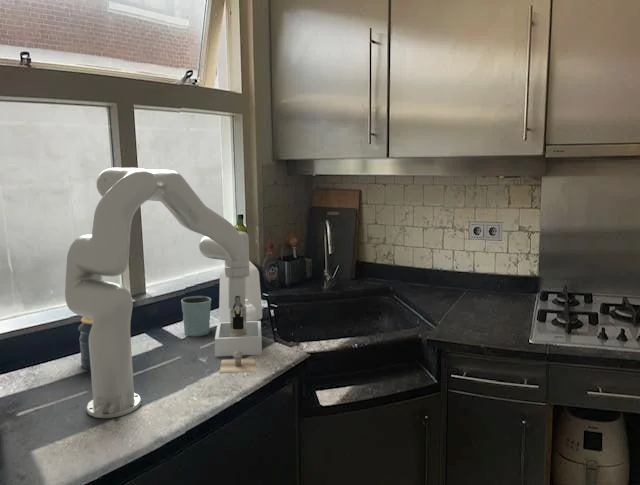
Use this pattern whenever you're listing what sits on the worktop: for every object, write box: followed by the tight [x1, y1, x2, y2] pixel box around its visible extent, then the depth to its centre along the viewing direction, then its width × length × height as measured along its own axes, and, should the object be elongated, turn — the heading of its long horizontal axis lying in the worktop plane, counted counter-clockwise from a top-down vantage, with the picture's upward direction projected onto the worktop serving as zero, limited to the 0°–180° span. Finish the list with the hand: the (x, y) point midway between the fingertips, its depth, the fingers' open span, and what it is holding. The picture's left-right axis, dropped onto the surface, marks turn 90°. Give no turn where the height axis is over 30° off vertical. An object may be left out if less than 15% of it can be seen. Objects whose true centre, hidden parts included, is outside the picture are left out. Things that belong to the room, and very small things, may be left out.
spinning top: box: [245, 299, 257, 321], centre depth 187 cm, size 8×8×12 cm
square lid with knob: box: [219, 351, 257, 374], centre depth 155 cm, size 10×10×6 cm
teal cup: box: [180, 295, 212, 337], centre depth 188 cm, size 10×10×12 cm
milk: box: [218, 260, 263, 323], centre depth 200 cm, size 12×12×26 cm
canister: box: [77, 316, 93, 371], centre depth 160 cm, size 13×13×18 cm
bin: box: [214, 320, 263, 357], centre depth 170 cm, size 16×14×7 cm
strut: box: [230, 306, 247, 337], centre depth 170 cm, size 5×5×13 cm
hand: (238, 324), depth 170 cm, fingers open, 9 cm apart
